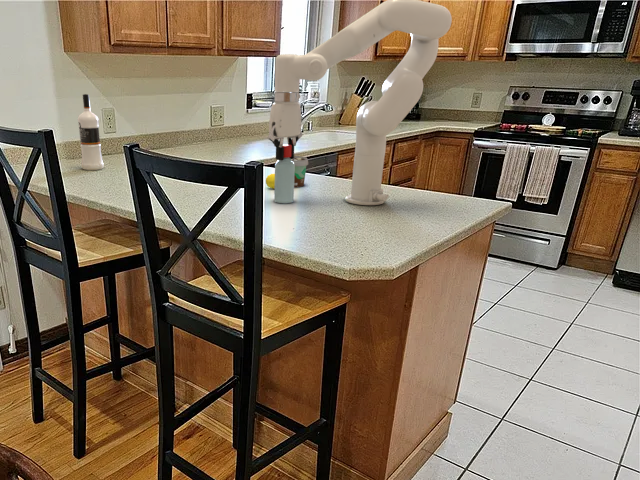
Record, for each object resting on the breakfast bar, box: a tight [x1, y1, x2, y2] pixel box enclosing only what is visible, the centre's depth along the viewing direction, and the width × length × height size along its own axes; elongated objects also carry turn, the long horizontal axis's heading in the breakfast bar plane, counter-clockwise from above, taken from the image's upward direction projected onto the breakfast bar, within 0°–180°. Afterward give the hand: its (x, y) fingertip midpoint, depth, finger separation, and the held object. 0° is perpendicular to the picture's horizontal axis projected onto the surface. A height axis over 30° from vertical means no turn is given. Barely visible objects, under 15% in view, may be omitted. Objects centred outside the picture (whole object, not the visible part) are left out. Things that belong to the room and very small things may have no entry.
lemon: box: [265, 173, 275, 190], centre depth 192 cm, size 7×5×5 cm
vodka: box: [77, 93, 105, 171], centre depth 220 cm, size 9×9×30 cm
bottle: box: [273, 157, 295, 204], centre depth 171 cm, size 6×6×18 cm
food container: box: [292, 155, 309, 188], centre depth 197 cm, size 12×6×10 cm, turn 168°
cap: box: [282, 143, 292, 158], centre depth 168 cm, size 4×4×4 cm
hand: (284, 158), depth 169 cm, fingers closed on cap, 3 cm apart
